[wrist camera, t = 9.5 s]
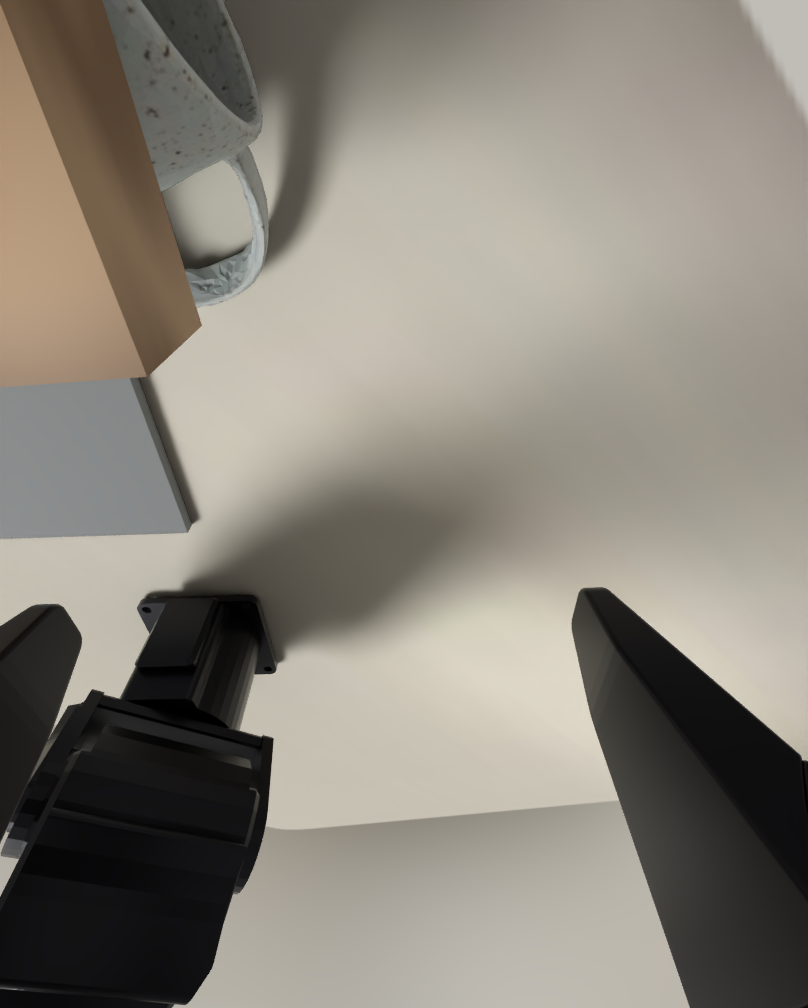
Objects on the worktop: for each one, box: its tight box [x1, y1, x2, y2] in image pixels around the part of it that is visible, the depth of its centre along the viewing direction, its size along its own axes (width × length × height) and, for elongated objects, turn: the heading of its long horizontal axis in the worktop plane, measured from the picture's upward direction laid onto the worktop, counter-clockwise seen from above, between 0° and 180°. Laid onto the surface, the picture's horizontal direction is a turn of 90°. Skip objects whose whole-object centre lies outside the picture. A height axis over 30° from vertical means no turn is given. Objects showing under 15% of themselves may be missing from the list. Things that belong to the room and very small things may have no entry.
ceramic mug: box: [103, 0, 269, 308], centre depth 12 cm, size 11×8×8 cm
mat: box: [0, 378, 192, 539], centre depth 20 cm, size 12×12×1 cm
